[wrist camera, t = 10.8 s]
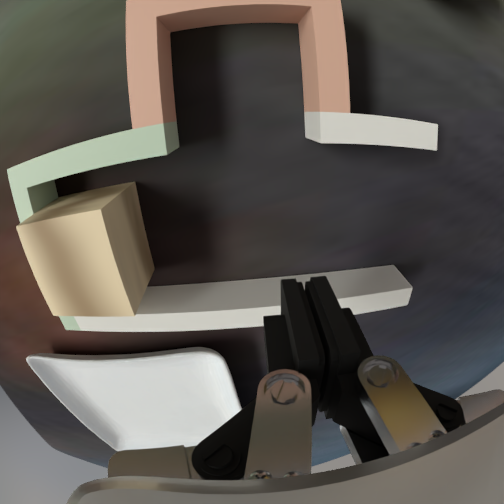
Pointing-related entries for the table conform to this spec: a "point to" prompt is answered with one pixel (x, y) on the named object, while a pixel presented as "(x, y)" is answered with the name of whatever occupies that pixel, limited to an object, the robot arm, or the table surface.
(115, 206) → the block
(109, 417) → the salad plate
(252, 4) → the pastel wall shelf
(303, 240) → the table surface
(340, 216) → the table surface
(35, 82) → the table surface
